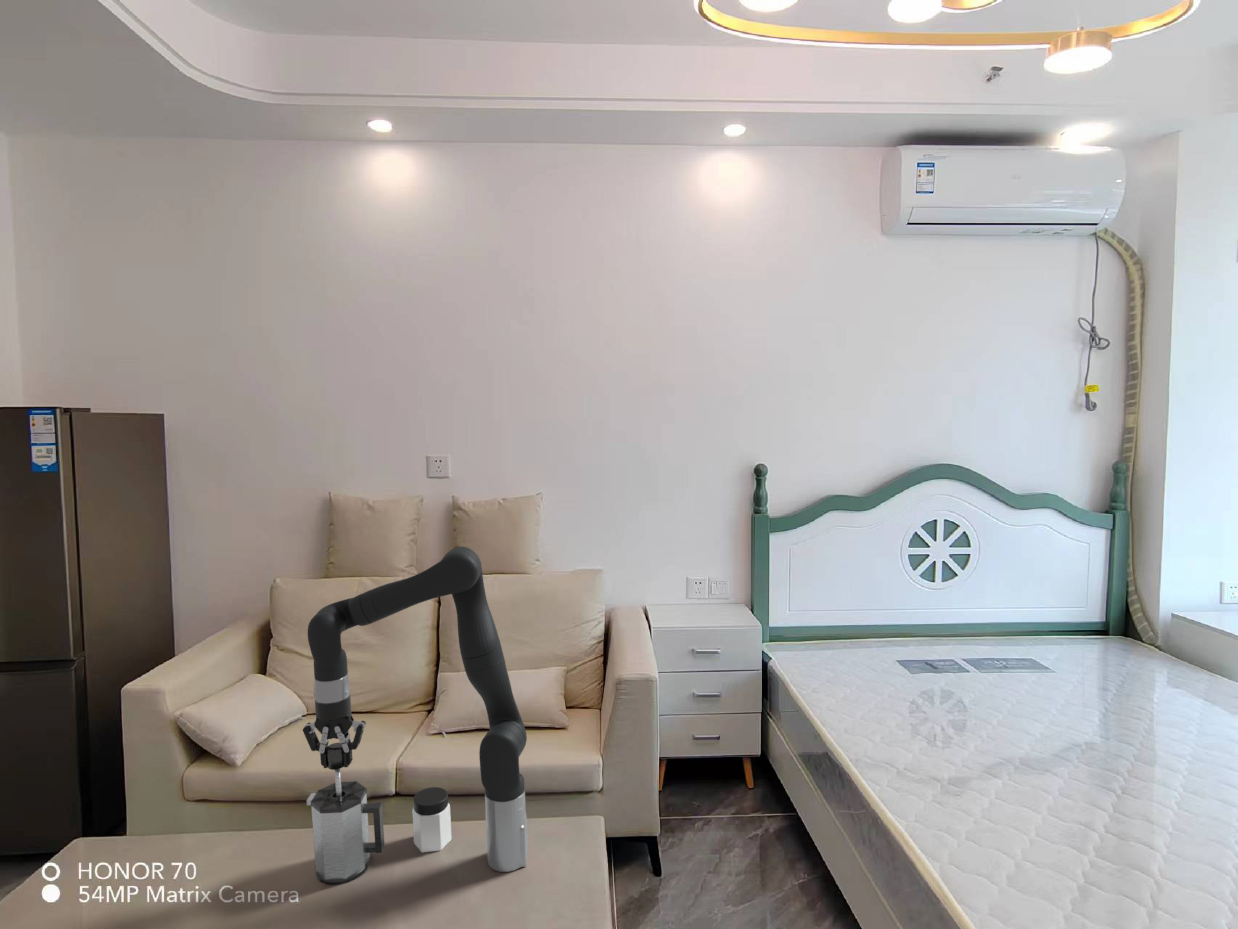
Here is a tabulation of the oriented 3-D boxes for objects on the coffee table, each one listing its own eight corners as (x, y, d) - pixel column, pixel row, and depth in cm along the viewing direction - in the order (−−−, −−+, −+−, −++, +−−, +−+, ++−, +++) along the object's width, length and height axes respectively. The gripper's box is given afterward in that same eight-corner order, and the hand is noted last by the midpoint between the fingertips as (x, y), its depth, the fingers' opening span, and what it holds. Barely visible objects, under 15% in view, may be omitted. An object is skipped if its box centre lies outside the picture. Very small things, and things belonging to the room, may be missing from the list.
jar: (456, 843, 179) (454, 797, 177) (425, 858, 173) (422, 810, 172) (440, 826, 185) (438, 782, 184) (409, 839, 180) (407, 794, 179)
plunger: (352, 824, 172) (347, 742, 169) (347, 835, 168) (341, 751, 165) (335, 825, 171) (329, 742, 169) (329, 835, 167) (323, 751, 165)
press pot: (390, 849, 177) (386, 779, 175) (377, 882, 165) (372, 808, 163) (323, 852, 176) (318, 781, 174) (304, 886, 164) (299, 811, 162)
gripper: (369, 686, 170) (373, 756, 172) (306, 688, 169) (311, 758, 171) (359, 700, 162) (363, 773, 164) (293, 703, 161) (299, 776, 164)
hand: (336, 765), depth 168 cm, fingers closed on plunger, 4 cm apart
